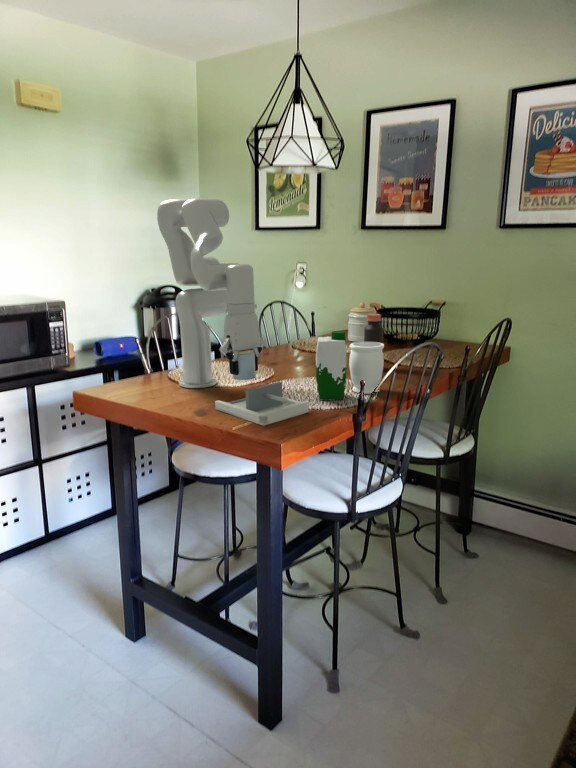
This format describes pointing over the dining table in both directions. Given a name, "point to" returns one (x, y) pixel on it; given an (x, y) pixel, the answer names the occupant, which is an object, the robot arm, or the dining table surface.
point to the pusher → (264, 397)
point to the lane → (263, 411)
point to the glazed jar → (246, 365)
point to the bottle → (373, 329)
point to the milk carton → (331, 366)
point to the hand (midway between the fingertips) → (244, 371)
